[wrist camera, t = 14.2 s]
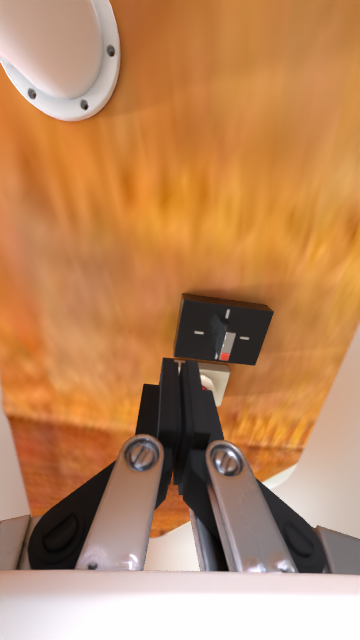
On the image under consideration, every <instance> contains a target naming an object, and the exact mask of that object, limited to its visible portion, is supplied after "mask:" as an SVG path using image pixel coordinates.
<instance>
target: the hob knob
mask: <svg viewBox="0 0 360 640" xmlns="http://www.w3.org/2000/svg"><path fill="white" fill-rule="evenodd" d="M235 335H236V333H235V331H234V329H233V328H232V326H231V324H230V323H227V322H221V324H220V328H219V332H218V336H217V340H216V344H215V350H216V353H217V355H218V358H219V360H225V361H228V359H229V356H230V352H231V349H232V345H233V342H234V338H235Z"/></svg>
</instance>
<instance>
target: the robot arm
mask: <svg viewBox="0 0 360 640" xmlns="http://www.w3.org/2000/svg"><path fill="white" fill-rule="evenodd" d="M112 54H114V56H113V57H111V55H112ZM120 56H121V54H120V39H119V34H118V29H117V24H116V20H115V17H114V14H113V10H112V7H111V4H110V2H109V0H0V62H1V64H2V66H3V68H4V69H5V71H6V73H7V75H8V77H9V78H10V80H11V81H12V82H13V84H14V85H15V87H16V88H17V89H18V90H19V91H20V93H21V94H22V95H23V96H24V97H25V98H26V99H27V100H28V101H29V102H30V103H32V104H33V105H34V106H35V107H36V108H38V109H39V110H41V111H42V112H44V113H45V114H47V115H49V116H51V117H54V118H56V119H59V120H64V121H80V120H84V119H87V118H90V117H91V116H93V115H95V114H96V113H98V112H99V111H100V110H101V109H102V108H103V107H104V106H105V105H106V103H107V102H108V100H109V99H110V97H111V96H112V93H113V91H114V88H115V86H116V84H117V79H118V75H119V70H120ZM35 96H36V98H35ZM86 106H88V109H87V110H85V107H86ZM172 473H173V481H174V485H178V490H179V495H183V500H184V501H185V503H186V504H187V505H188V506H189V507H190V508H189V509H190V519H191V524H192V529H193V535H194V540H195V545H196V551H197V556H198V562H199V567H200V571H143V569H144V564H145V558H146V553H147V547H148V542H149V537H150V531H151V526H152V520H153V515H154V511H155V509H156V508H157V507H158V506H159V505H160V504H161V503H162V502H163V501H164V500H165V498H166V494H167V489H168V484H169V485H170V482H171V477H172ZM0 640H360V539H358V538H355V537H352V536H349V535H346V534H343V533H340V532H337V531H333V530H330V529H327V528H324V527H321V526H317V527H316V528H313V527H311V526H310V525H309V524H308V523H307V522H306V521H305V520H304V519H303V518H302V517H301V516H299V515H298V514H297V513H296V512H295V511H294V510H292V509H291V508H290V507H289V506H288V505H287V504H286V503H284V502H283V501H282V500H281V499H279V497H277V496H276V495H275V494H274V493H273V492H271V491H270V490H269V489H268V488H267V487H266V486H265V485H263V484H262V483H261V482H260V481H259V480H258V479H256V478H255V476H254V474H253V472H252V470H251V467H250V465H249V463H248V461H247V459H246V457H245V455H244V454H243V452H242V451H241V450H240V449H239V448H238V447H237V446H236V445H235V444H233V443H231V442H229V441H226V440H224V437H223V432H222V428H221V424H220V420H219V416H218V412H217V408H216V404H215V399H214V395H213V392H212V391H211V390H204V389H203V387H202V382H201V377H200V371H199V366H198V362H197V361H191V360H186V361H185V363H181V367H180V372H179V365H178V362H174V359H173V358H163V361H162V367H161V374H160V381H159V385H152V384H144V385H143V391H142V397H141V403H140V409H139V415H138V421H137V427H136V433H135V436H133V437H131V438H129V439H128V440H127V441H126V442H125V443H124V444H123V446H122V448H121V450H120V452H119V455H118V458H117V460H115V461H114V462H113V463H111V464H110V465H109V466H107V467H106V468H105V469H103V470H102V471H101V472H99V473H98V474H97V475H95V476H94V477H93V478H91V479H90V480H89V481H87V482H86V483H85V484H83V485H82V486H80V487H79V488H78V489H76V490H75V491H74V492H72V493H71V494H70V495H68V496H67V497H66V498H64V499H63V500H62V501H60V502H59V503H58V504H56V505H55V506H54V507H52V508H51V509H50V510H49V511H48V512H46V513H45V514H44V515H41V516H36V517H32V518H31V516H30V515H25V516H21V517H16V518H12V519H7V520H2V521H0Z"/></svg>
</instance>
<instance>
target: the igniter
mask: <svg viewBox="0 0 360 640" xmlns="http://www.w3.org/2000/svg"><path fill="white" fill-rule="evenodd" d="M174 362H178V365H179V372H180V367H181V363H185V361H183V360H174ZM198 366H199V371H200V377H201V382H202V386H203V387H205V388H206V390H211V391H212V392H213V395H214V399H215V404H216V406H220V405H221V402H222V398H223V395H224V392H225V388H226V385H227V382H228V378H229V375H230V371H229V368H228V366H227V365H220V364H211V363H201V362H198Z"/></svg>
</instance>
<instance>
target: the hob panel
mask: <svg viewBox="0 0 360 640" xmlns="http://www.w3.org/2000/svg"><path fill="white" fill-rule="evenodd" d="M273 313H274V311H272V310H271V309H270V308H269V307H268V306H267V305H263V304H256V303H248V302H241V301H234V300H226V299H219V298H212V297H205V296H197V295H190V294H182V298H181V304H180V311H179V317H178V323H177V329H176V335H175V341H174V347H173V348H174V357H182V358H191V359H200V360H209V361H218V362H227V363H237V364H246V365H255V364H256V361H257V358H258V355H259V353H260V350H261V347H262V344H263V341H264V338H265V335H266V333H267V330H268V327H269V324H270V321H271V318H272V316H273ZM221 322H227V323H230V324H231V326H232V328H233V329H234V331H235V333H236V335H235V338H234V342H233V345H232V349H231V352H230V356H229V359H228V361H225V360H219V358H218V355H217V353H216V350H215V344H216V340H217V336H218V332H219V328H220V324H221Z"/></svg>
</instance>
